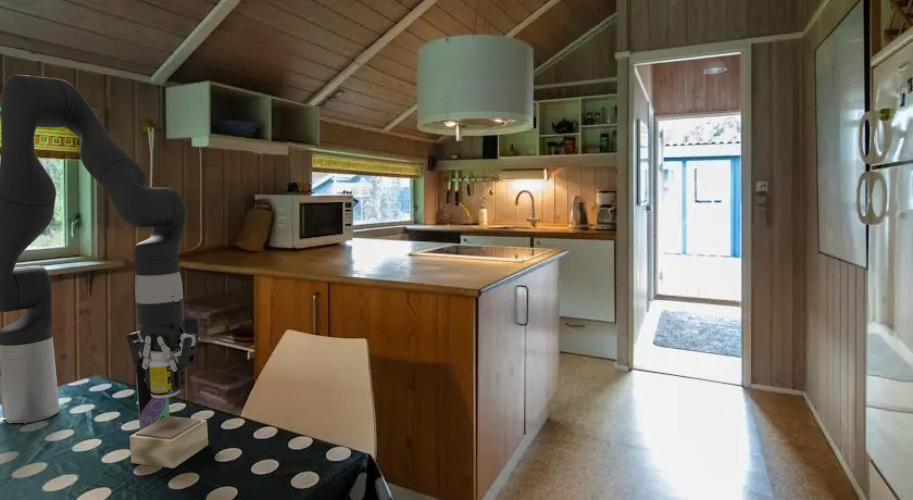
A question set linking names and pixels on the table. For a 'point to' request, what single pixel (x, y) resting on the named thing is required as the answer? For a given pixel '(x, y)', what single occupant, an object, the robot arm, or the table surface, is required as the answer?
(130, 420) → the table surface
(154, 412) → the spray can
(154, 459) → the base block
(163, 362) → the supplement bottle
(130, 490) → the table surface
